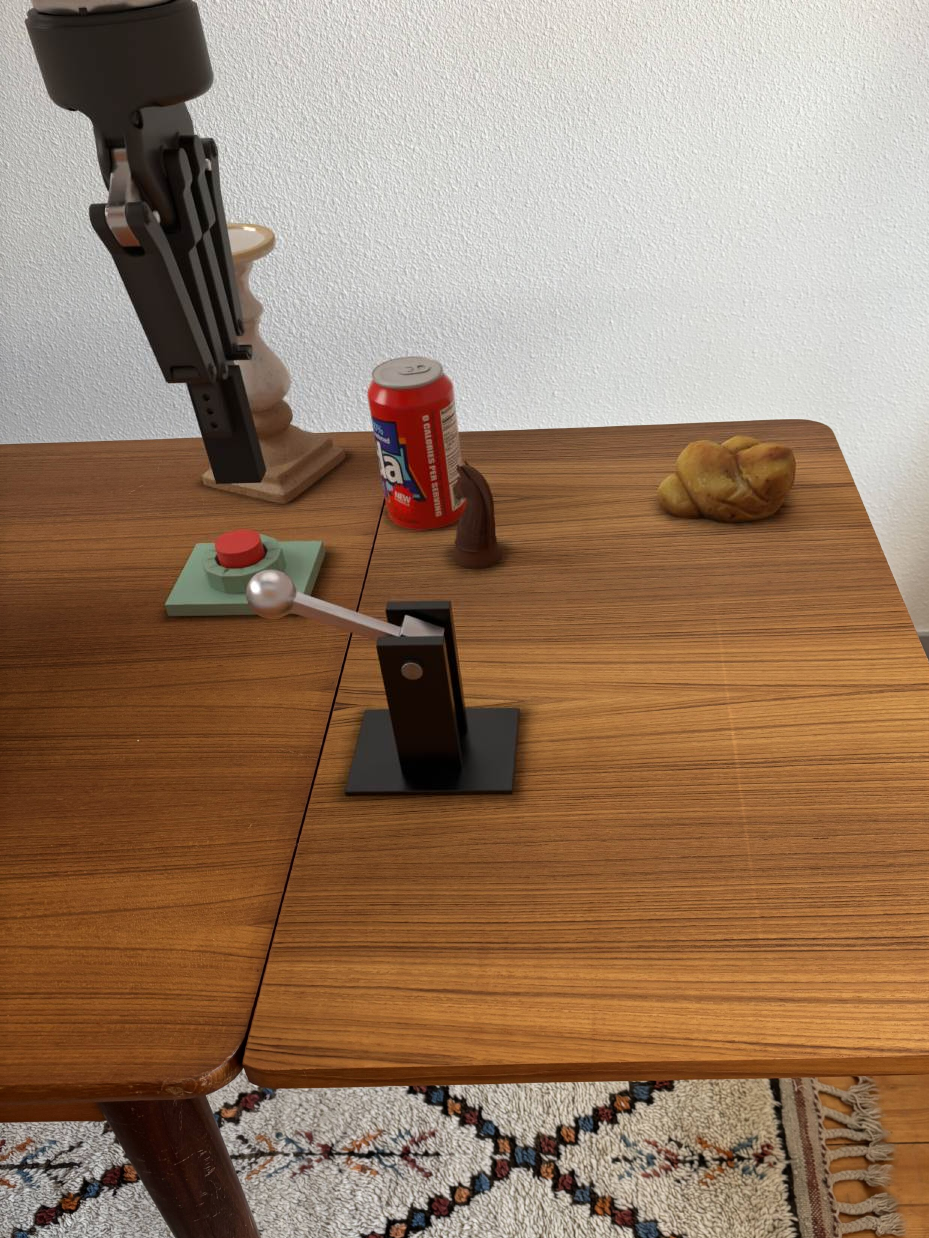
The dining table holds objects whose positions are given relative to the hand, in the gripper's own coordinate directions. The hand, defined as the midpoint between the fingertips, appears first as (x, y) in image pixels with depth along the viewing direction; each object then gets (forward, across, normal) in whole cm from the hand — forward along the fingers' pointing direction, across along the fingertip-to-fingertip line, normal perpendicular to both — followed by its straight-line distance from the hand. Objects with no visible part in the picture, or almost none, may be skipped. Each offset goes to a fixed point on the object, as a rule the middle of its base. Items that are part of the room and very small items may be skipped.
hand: (241, 476), depth 63 cm
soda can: (+24, +36, -4) cm, 43 cm away
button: (+20, +23, +11) cm, 32 cm away
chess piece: (+24, +27, -10) cm, 37 cm away
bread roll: (+24, +36, -33) cm, 54 cm away
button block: (+24, +23, +11) cm, 35 cm away
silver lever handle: (+12, 0, -4) cm, 13 cm away
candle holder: (+24, +44, +14) cm, 52 cm away
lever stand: (+24, 0, -9) cm, 25 cm away
